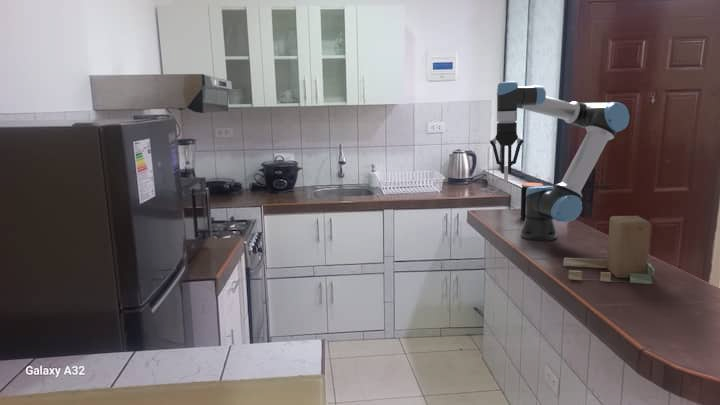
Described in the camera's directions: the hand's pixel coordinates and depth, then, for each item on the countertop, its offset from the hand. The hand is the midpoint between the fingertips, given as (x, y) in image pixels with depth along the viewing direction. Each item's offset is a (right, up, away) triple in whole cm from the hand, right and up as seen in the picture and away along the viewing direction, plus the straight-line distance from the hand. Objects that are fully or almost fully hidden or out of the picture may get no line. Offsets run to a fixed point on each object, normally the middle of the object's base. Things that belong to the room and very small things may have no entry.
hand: (505, 181), depth 195 cm
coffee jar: (+31, -17, +59) cm, 68 cm away
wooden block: (+35, -34, -25) cm, 54 cm away
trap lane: (+28, -34, -24) cm, 50 cm away
